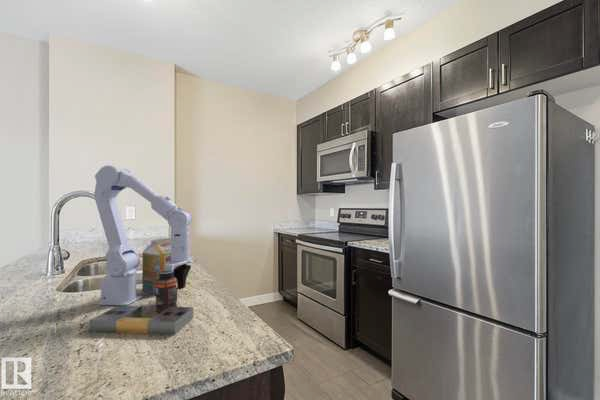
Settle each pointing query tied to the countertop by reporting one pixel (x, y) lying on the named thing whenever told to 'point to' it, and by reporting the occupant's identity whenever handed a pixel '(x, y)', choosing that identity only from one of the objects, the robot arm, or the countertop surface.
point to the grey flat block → (141, 320)
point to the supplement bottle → (166, 291)
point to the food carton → (155, 263)
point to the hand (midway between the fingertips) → (180, 288)
